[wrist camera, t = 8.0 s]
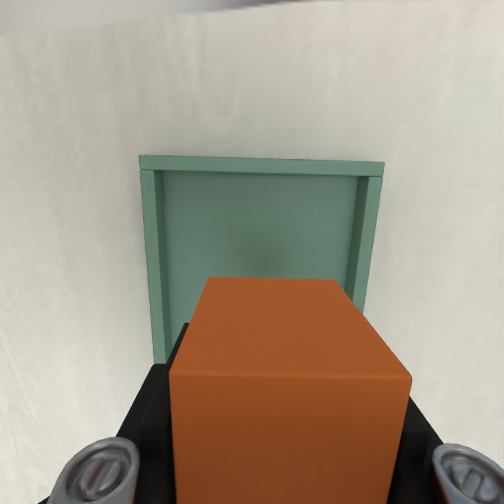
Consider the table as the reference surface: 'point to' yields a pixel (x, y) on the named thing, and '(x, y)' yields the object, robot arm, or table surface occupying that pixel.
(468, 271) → the table surface
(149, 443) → the robot arm
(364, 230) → the backing tray
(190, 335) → the orange block
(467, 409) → the table surface
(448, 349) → the table surface
